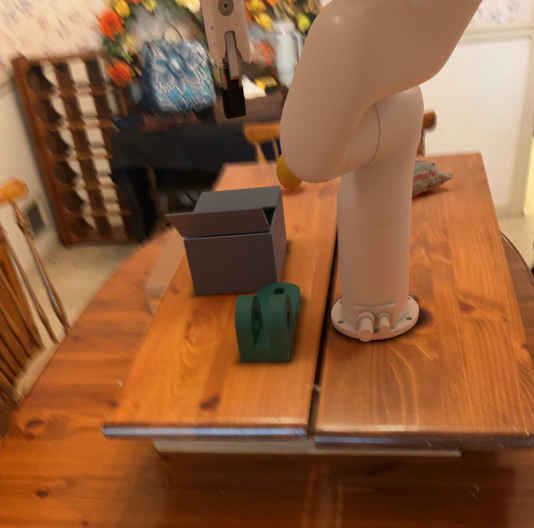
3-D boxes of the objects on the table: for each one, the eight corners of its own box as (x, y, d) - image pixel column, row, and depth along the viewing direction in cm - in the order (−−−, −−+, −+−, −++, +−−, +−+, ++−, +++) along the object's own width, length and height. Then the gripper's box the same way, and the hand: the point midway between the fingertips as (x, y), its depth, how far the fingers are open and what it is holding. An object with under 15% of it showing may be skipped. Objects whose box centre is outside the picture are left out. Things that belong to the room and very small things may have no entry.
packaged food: (452, 189, 122) (453, 162, 118) (401, 208, 119) (401, 181, 115) (423, 178, 128) (424, 152, 124) (373, 196, 125) (373, 169, 121)
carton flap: (270, 228, 96) (270, 230, 96) (182, 235, 98) (182, 237, 98) (261, 206, 88) (261, 208, 88) (165, 214, 90) (165, 216, 90)
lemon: (292, 183, 134) (288, 142, 128) (311, 188, 131) (308, 147, 125) (273, 193, 132) (268, 151, 126) (291, 198, 128) (287, 156, 123)
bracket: (288, 361, 88) (282, 310, 83) (241, 361, 90) (232, 312, 84) (304, 294, 101) (299, 246, 95) (262, 295, 102) (255, 248, 97)
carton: (278, 290, 103) (271, 229, 96) (195, 295, 105) (182, 235, 98) (287, 242, 115) (281, 185, 108) (212, 248, 117) (201, 192, 110)
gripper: (254, -34, 79) (269, 126, 93) (233, -48, 90) (250, 98, 103) (194, -24, 79) (219, 136, 92) (181, -39, 89) (204, 106, 102)
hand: (235, 115), depth 97 cm, fingers closed
